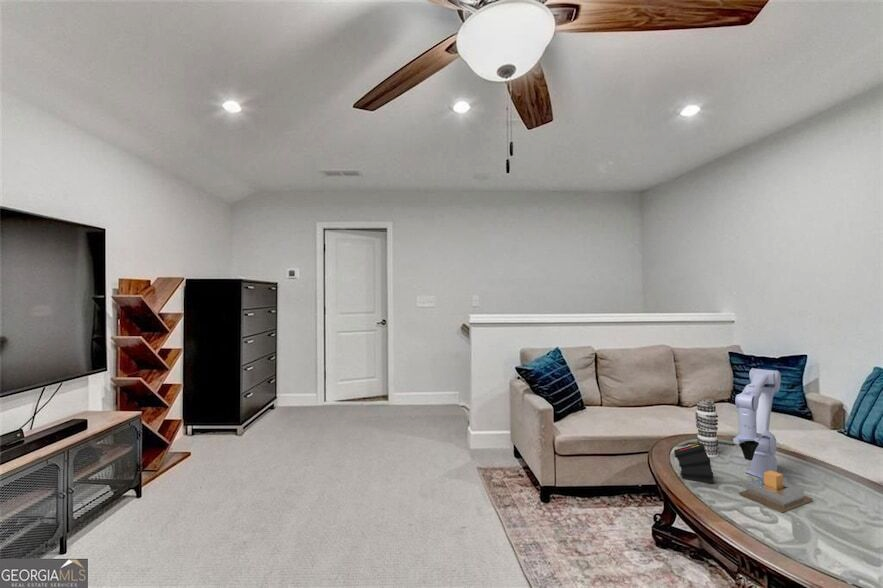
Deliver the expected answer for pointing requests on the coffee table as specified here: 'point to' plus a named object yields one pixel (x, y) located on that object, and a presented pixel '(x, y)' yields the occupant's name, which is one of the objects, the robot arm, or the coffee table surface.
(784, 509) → the socket
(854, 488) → the coffee table surface
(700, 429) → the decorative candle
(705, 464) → the black ridged slab
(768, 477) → the orange rectangular block
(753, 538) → the coffee table surface
